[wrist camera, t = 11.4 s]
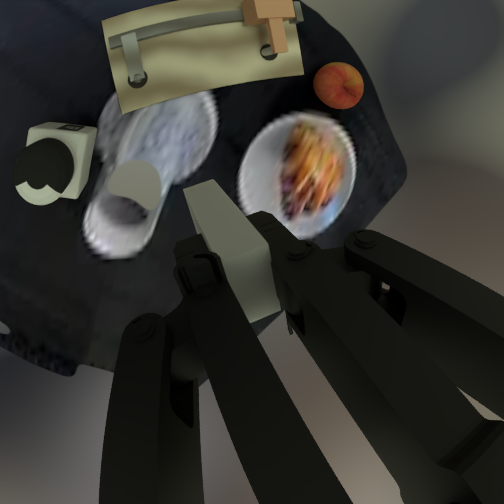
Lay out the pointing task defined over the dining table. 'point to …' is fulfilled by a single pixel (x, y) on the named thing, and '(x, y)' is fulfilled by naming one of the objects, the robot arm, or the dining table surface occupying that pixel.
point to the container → (54, 162)
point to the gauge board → (192, 50)
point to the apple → (338, 85)
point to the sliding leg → (270, 20)
